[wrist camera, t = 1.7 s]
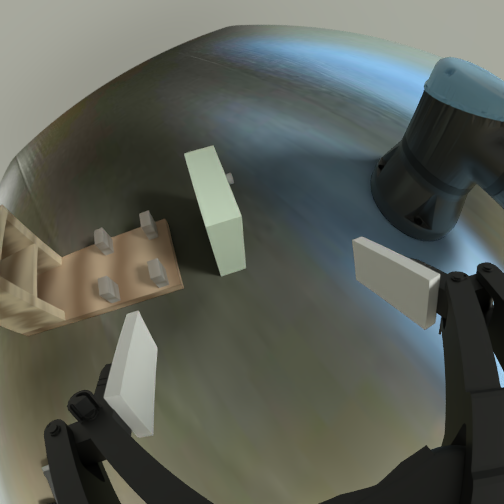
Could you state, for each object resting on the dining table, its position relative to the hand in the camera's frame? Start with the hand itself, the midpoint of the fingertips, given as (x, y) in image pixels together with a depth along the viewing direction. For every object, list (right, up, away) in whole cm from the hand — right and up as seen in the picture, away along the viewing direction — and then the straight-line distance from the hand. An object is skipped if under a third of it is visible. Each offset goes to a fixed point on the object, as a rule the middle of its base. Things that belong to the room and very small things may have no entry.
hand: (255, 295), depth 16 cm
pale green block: (-4, +4, +19) cm, 19 cm away
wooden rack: (-21, -2, +16) cm, 27 cm away
